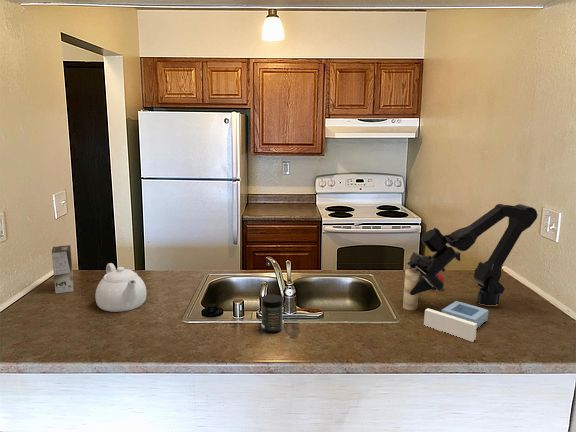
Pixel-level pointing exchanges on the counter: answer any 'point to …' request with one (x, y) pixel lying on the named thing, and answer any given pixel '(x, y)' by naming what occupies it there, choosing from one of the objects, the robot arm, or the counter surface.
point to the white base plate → (450, 324)
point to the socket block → (467, 312)
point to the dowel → (410, 282)
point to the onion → (440, 277)
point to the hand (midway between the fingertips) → (407, 291)
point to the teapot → (120, 290)
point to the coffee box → (62, 269)
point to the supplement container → (272, 313)
